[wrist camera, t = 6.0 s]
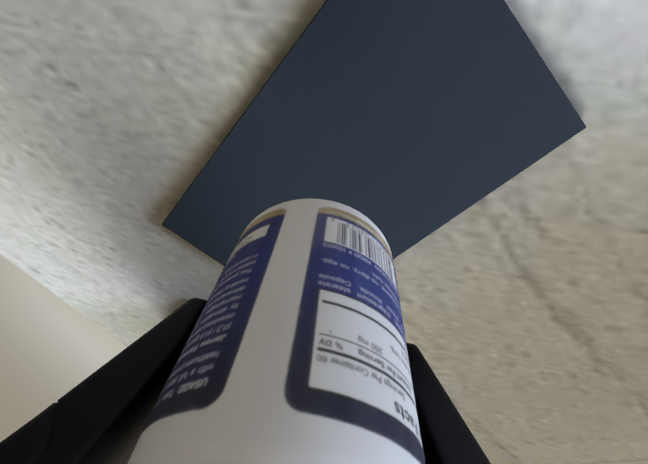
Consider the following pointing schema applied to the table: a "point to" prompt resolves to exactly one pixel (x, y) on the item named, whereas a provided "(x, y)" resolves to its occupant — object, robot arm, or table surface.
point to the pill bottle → (294, 352)
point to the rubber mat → (384, 122)
